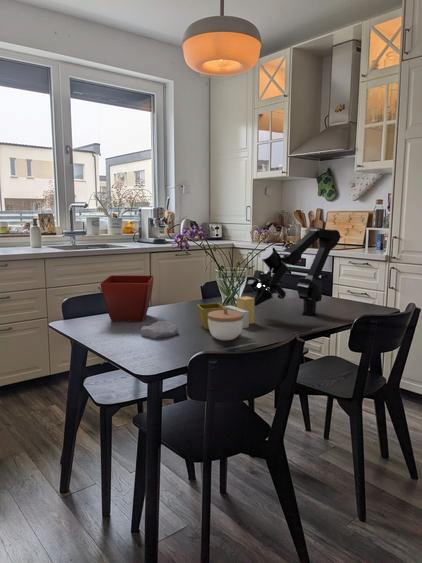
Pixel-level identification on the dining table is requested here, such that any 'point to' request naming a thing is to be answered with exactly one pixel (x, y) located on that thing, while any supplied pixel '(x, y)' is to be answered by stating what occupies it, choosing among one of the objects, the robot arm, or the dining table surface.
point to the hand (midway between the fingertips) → (254, 305)
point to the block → (247, 306)
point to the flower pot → (205, 309)
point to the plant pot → (127, 296)
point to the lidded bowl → (225, 324)
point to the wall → (245, 315)
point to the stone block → (159, 329)
